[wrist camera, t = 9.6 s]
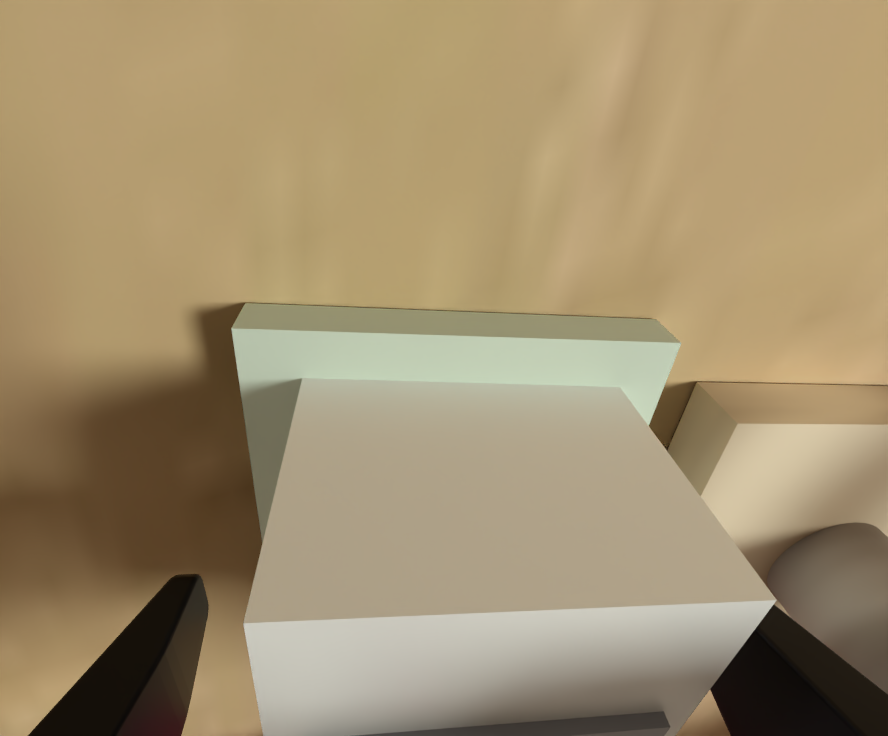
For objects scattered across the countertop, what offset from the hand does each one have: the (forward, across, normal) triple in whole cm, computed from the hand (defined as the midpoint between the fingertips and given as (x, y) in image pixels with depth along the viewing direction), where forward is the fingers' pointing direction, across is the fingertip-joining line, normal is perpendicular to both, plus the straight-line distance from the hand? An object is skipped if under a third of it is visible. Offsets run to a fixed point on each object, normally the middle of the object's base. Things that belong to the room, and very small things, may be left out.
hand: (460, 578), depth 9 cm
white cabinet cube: (+2, 0, 0) cm, 2 cm away
